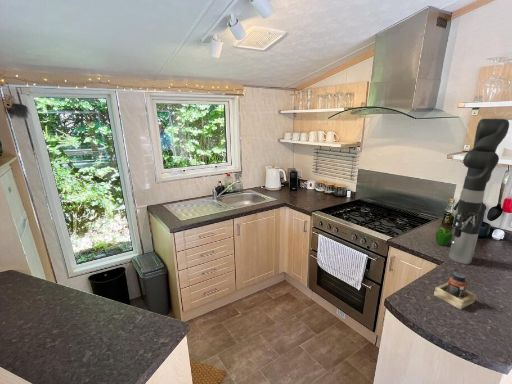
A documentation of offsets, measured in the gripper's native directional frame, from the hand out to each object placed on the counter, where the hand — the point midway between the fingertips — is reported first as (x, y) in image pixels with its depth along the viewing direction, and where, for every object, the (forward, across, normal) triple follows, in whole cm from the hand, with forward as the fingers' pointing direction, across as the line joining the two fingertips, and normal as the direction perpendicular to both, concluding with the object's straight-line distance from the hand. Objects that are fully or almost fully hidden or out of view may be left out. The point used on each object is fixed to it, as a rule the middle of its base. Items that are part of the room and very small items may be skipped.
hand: (462, 234), depth 113 cm
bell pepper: (+28, -43, -27) cm, 58 cm away
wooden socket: (+25, +9, +6) cm, 28 cm away
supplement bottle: (+26, +9, +6) cm, 28 cm away
